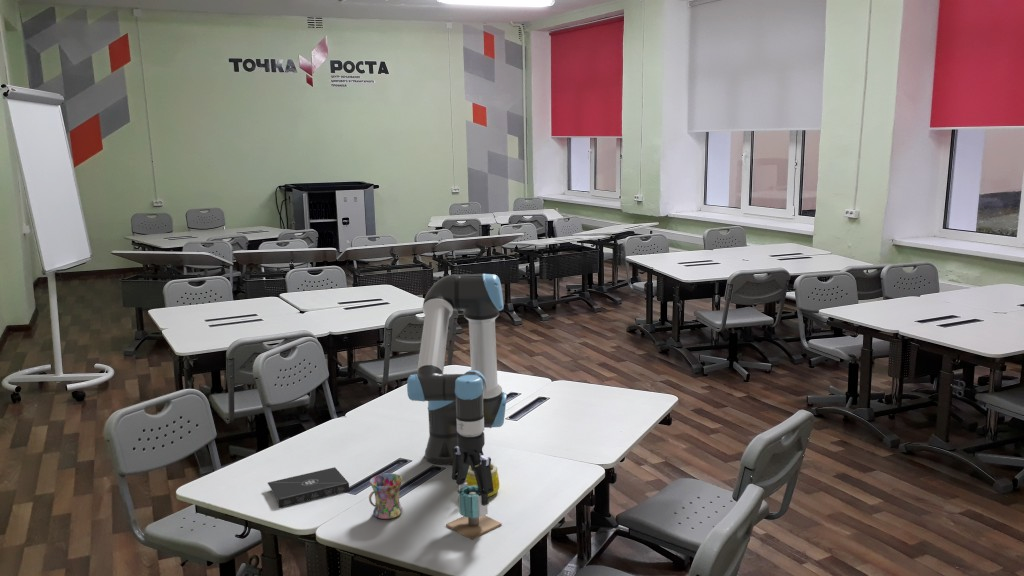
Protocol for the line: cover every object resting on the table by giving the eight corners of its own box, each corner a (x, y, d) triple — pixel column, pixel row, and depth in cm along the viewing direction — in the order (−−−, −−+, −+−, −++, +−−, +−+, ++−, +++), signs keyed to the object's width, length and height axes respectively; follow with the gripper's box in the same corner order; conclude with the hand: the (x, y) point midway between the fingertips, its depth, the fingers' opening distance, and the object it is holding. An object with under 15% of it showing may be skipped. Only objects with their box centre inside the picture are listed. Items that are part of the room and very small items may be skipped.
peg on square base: (446, 525, 214) (444, 493, 212) (475, 512, 222) (474, 481, 220) (471, 539, 206) (470, 506, 205) (501, 525, 214) (500, 493, 212)
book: (279, 509, 228) (278, 500, 227) (268, 491, 240) (267, 482, 240) (350, 492, 238) (349, 483, 238) (335, 475, 251) (335, 466, 250)
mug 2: (496, 482, 241) (495, 446, 239) (502, 498, 231) (501, 460, 228) (456, 486, 239) (454, 450, 237) (460, 502, 229) (458, 464, 226)
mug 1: (386, 504, 228) (384, 470, 226) (410, 511, 224) (408, 476, 222) (358, 521, 218) (356, 486, 216) (383, 528, 214) (381, 493, 212)
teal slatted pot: (454, 511, 213) (453, 491, 212) (474, 502, 218) (473, 482, 217) (471, 520, 208) (471, 499, 207) (492, 511, 213) (491, 490, 212)
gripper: (436, 426, 214) (439, 503, 218) (485, 445, 199) (487, 527, 203) (457, 420, 219) (460, 494, 223) (506, 437, 204) (508, 517, 208)
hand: (473, 510), depth 213 cm, fingers closed on teal slatted pot, 7 cm apart
